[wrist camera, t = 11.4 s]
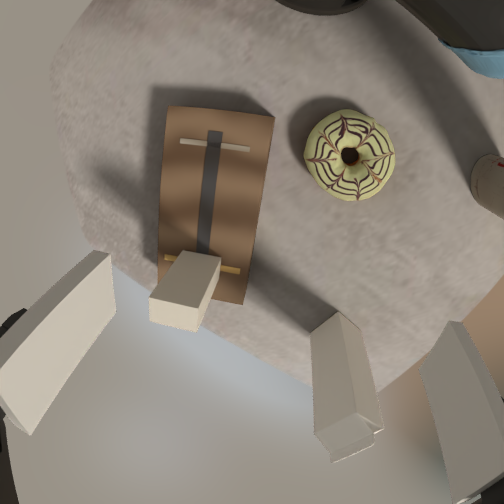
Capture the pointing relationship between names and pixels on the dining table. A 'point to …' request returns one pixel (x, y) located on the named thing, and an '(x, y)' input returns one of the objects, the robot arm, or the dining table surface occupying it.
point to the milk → (343, 389)
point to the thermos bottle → (489, 183)
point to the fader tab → (185, 291)
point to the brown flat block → (213, 190)
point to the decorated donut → (349, 135)
